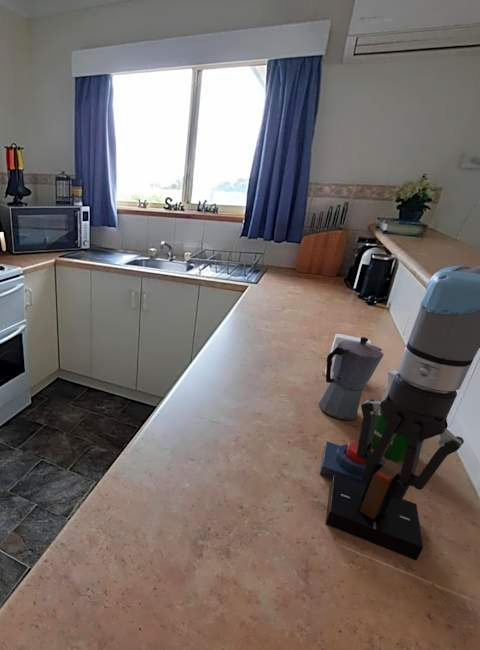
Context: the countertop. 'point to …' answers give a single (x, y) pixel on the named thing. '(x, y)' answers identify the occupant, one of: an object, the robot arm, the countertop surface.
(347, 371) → the moka pot
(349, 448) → the button
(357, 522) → the panel
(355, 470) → the button block
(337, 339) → the light grey piece
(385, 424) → the milk carton
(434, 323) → the robot arm
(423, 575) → the countertop surface
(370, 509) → the handle
